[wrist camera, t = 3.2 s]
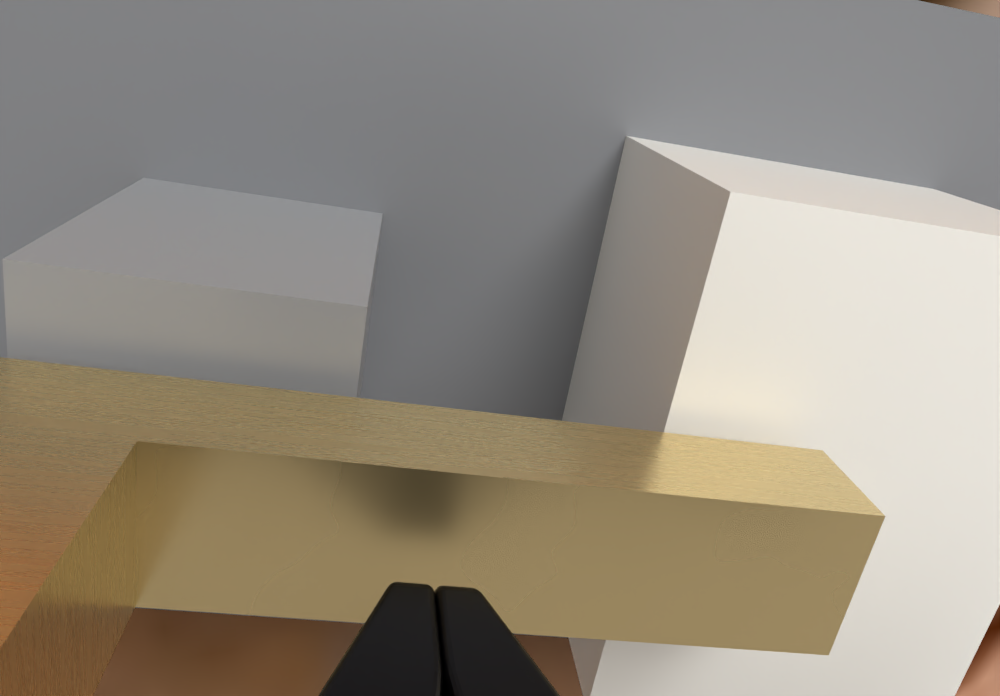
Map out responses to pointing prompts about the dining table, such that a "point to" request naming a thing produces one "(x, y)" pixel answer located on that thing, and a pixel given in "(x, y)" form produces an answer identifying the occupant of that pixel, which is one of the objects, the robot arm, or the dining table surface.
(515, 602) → the latch bolt
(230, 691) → the dining table surface
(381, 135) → the base plate
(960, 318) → the white rectangular block
